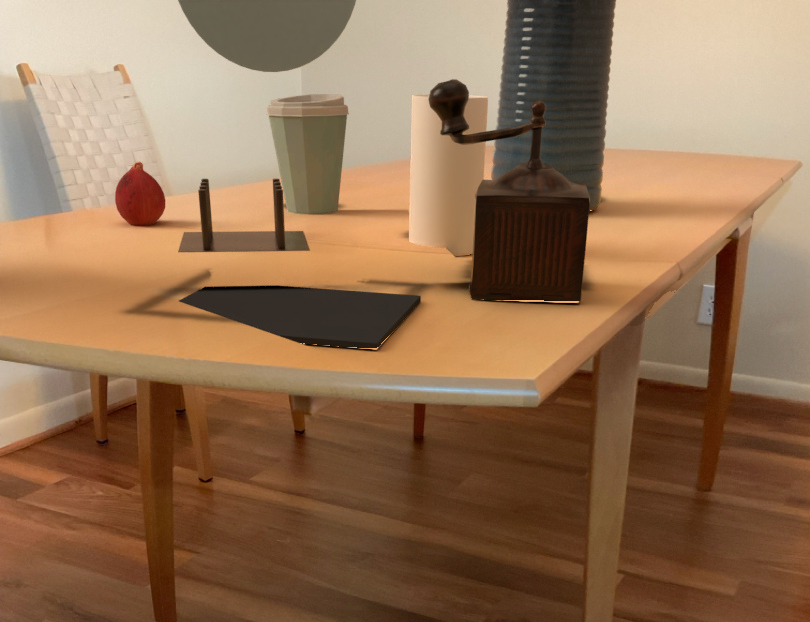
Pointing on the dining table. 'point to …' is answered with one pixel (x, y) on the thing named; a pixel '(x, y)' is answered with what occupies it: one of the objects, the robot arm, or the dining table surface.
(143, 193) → the pomegranate
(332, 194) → the disposable coffee cup
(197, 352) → the dining table surface
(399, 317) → the mat
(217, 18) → the plate
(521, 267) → the manual coffee grinder
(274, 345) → the dining table surface
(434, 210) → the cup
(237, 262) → the dining table surface
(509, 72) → the vase
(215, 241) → the rack
